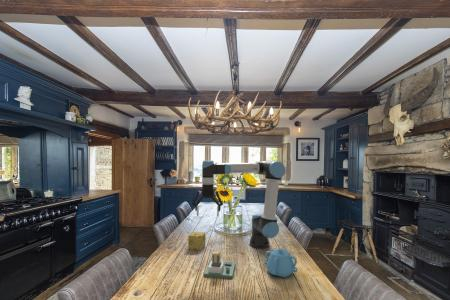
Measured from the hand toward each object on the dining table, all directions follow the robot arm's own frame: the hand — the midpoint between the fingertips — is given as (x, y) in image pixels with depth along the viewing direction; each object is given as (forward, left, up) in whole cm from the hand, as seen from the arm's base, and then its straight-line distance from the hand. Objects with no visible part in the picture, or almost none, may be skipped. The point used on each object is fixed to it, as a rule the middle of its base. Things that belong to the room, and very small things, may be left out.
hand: (207, 215), depth 162 cm
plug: (-9, +18, -26) cm, 33 cm away
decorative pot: (-46, +13, -28) cm, 56 cm away
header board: (-11, +15, -28) cm, 33 cm away
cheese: (+12, -18, -28) cm, 35 cm away
